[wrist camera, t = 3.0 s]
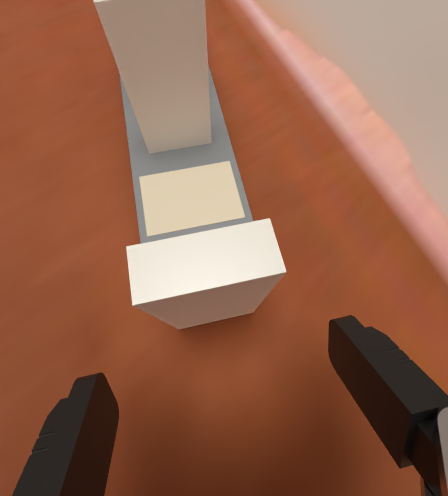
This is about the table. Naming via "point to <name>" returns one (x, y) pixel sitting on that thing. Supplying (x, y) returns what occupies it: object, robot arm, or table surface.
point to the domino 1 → (162, 67)
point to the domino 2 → (205, 273)
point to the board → (186, 181)
